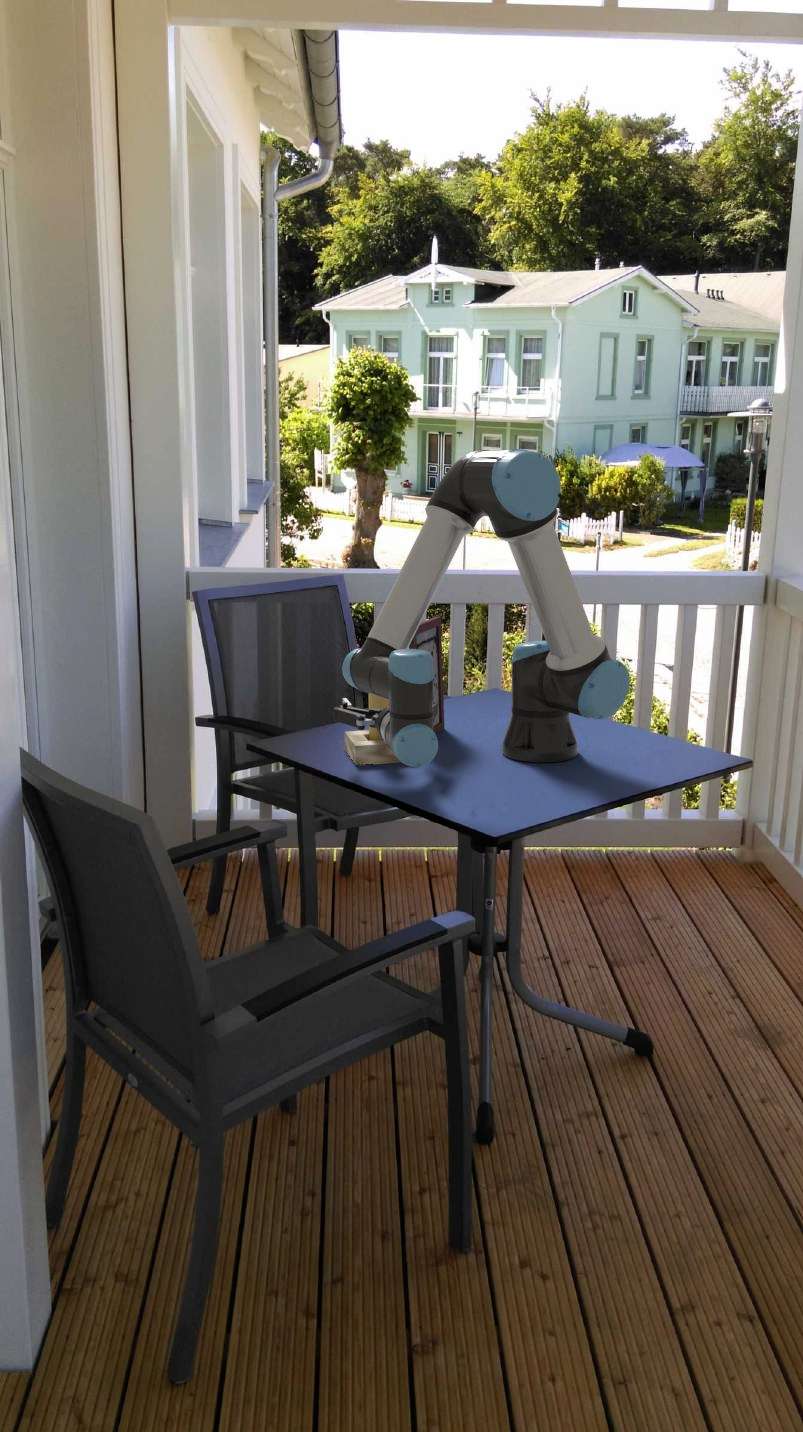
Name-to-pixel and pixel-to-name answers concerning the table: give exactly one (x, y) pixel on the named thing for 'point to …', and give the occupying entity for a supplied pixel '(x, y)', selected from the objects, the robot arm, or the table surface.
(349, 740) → the socket block
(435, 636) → the picture frame
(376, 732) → the peg
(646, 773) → the table surface
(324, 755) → the table surface
